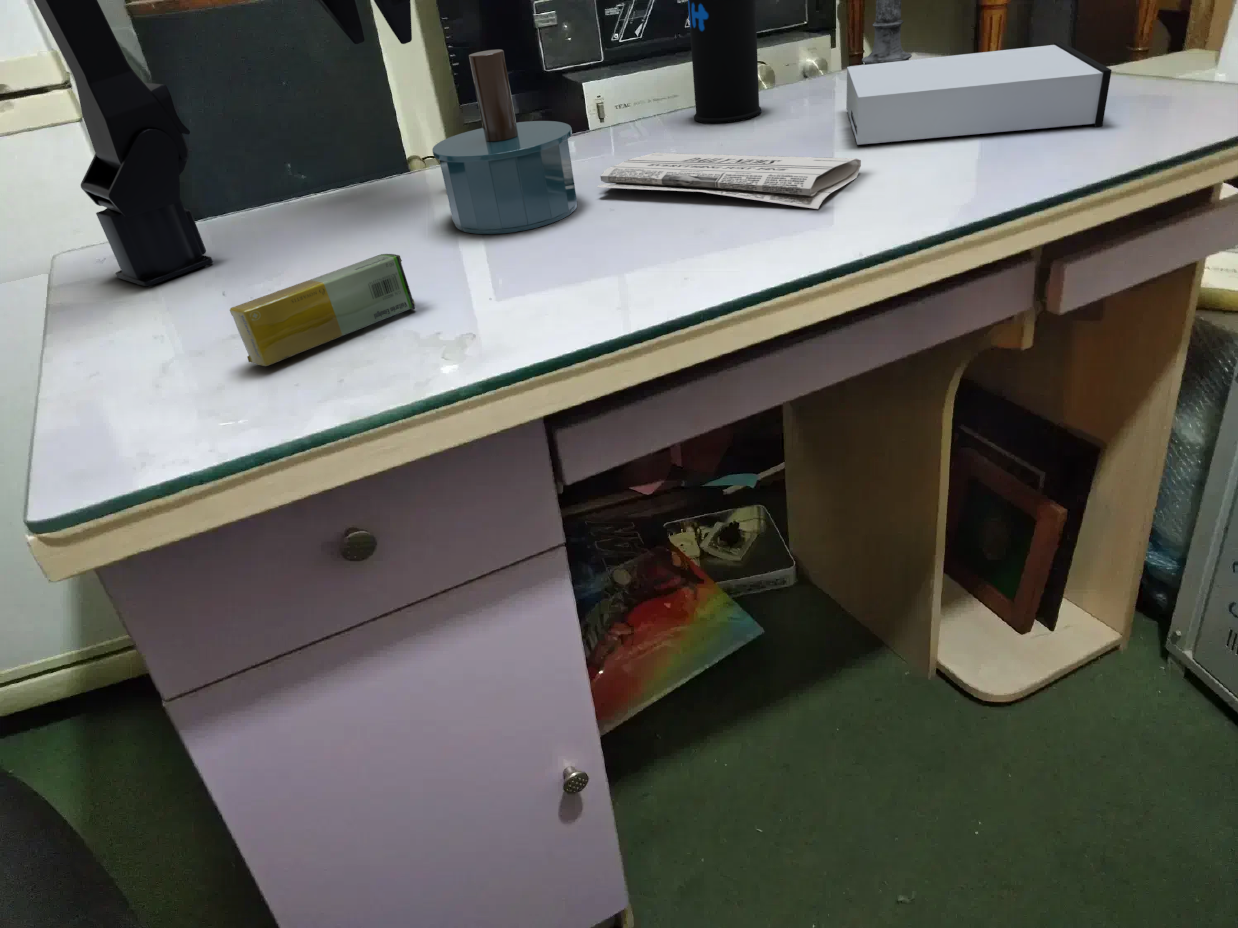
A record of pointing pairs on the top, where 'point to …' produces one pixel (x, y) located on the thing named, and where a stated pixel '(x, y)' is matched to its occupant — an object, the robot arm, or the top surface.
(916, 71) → the disc drive
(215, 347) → the top surface
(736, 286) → the top surface
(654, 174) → the newspaper
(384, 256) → the medication box
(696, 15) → the aerosol can
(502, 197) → the canister
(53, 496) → the top surface
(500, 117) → the lid
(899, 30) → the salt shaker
